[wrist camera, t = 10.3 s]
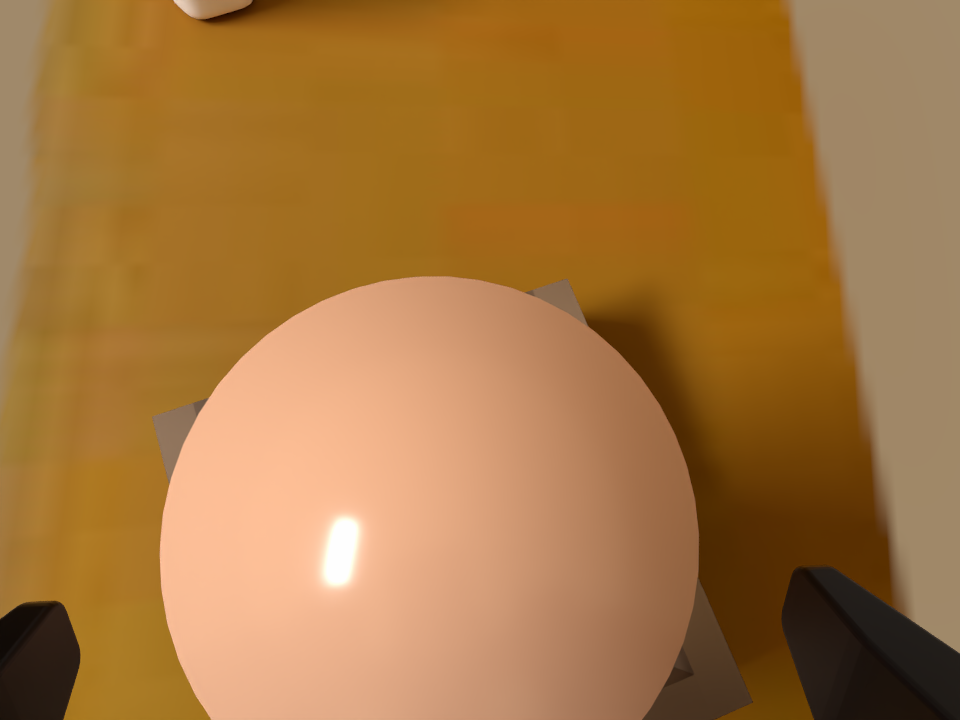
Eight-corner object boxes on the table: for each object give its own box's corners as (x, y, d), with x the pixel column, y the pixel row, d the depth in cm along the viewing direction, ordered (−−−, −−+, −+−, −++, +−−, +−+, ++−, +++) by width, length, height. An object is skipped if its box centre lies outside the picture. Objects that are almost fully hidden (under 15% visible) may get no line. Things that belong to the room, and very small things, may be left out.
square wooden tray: (706, 684, 19) (752, 702, 16) (304, 859, 18) (277, 914, 15) (551, 318, 22) (567, 278, 19) (192, 439, 20) (152, 416, 18)
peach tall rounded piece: (553, 613, 18) (791, 693, 6) (385, 680, 18) (243, 935, 5) (490, 448, 19) (577, 216, 7) (331, 506, 19) (105, 369, 6)
